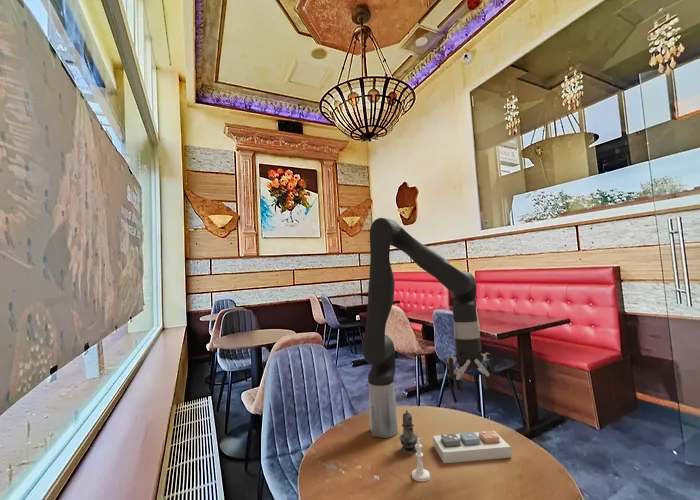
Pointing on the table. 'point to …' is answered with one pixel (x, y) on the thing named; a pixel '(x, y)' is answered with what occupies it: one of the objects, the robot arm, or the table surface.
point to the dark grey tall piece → (408, 435)
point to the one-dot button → (469, 439)
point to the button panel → (471, 450)
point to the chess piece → (420, 466)
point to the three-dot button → (450, 440)
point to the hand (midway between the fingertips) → (472, 389)
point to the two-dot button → (489, 437)
